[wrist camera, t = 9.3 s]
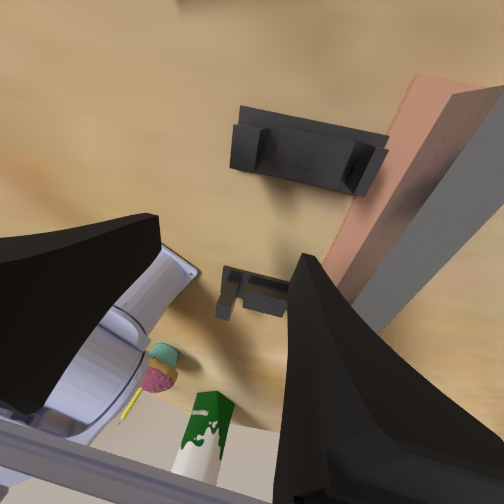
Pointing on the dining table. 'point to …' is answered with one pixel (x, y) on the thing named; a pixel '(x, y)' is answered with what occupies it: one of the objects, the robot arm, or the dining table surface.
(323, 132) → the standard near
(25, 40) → the dining table surface
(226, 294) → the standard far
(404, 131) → the mat
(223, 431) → the milk carton
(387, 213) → the rail
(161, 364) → the cupcake
